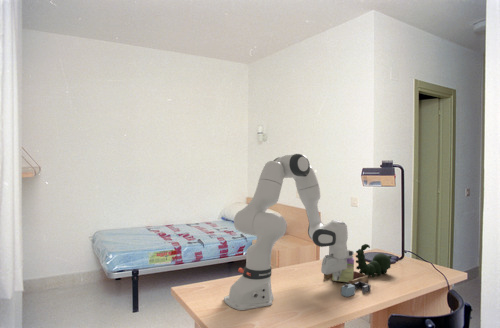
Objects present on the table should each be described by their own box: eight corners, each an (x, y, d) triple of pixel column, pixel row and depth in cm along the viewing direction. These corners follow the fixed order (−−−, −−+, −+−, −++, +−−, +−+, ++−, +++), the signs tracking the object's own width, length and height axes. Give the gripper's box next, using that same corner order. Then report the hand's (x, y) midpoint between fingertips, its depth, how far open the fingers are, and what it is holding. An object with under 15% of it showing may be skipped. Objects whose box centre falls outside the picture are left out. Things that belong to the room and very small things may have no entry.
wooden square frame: (350, 289, 170) (350, 281, 170) (323, 278, 184) (324, 271, 184) (368, 283, 179) (368, 275, 179) (341, 273, 193) (342, 266, 192)
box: (352, 280, 182) (353, 257, 183) (353, 283, 177) (354, 259, 178) (332, 278, 185) (333, 255, 186) (332, 280, 179) (333, 257, 180)
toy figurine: (365, 283, 183) (398, 273, 194) (364, 248, 182) (397, 239, 193) (352, 277, 192) (385, 267, 203) (351, 243, 190) (384, 235, 201)
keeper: (364, 293, 166) (364, 287, 166) (353, 289, 171) (353, 283, 171) (370, 291, 169) (370, 285, 169) (359, 287, 174) (360, 281, 174)
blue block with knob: (346, 297, 161) (346, 286, 161) (341, 294, 163) (341, 284, 163) (354, 294, 164) (355, 283, 164) (349, 292, 167) (349, 281, 167)
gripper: (328, 257, 168) (327, 285, 168) (355, 251, 180) (354, 277, 180) (318, 254, 173) (317, 281, 174) (345, 248, 185) (344, 274, 186)
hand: (336, 279), depth 177 cm, fingers closed
